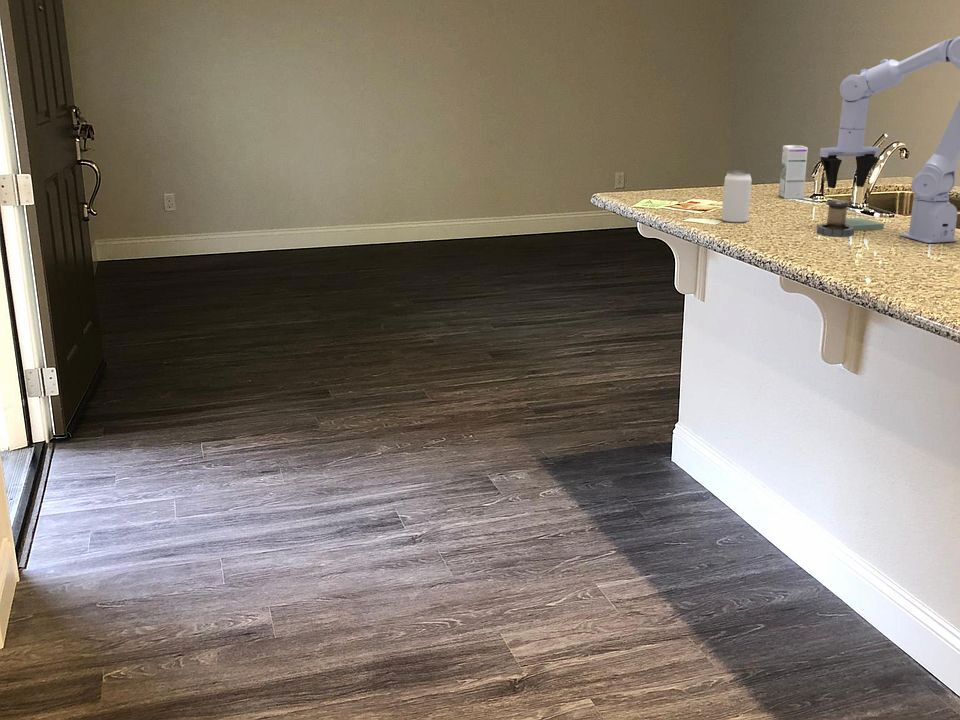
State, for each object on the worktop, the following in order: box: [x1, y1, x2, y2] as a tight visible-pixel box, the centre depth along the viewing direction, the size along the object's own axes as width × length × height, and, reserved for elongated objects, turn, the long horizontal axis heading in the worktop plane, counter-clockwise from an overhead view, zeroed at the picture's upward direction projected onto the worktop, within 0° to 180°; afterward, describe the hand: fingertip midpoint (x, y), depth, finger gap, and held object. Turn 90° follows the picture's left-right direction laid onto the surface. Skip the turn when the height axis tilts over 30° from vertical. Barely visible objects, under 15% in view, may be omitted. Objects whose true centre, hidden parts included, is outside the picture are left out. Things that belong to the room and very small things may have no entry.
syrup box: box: [778, 144, 809, 200], centre depth 276 cm, size 6×6×14 cm
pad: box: [845, 217, 885, 232], centre depth 235 cm, size 9×9×1 cm
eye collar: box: [816, 223, 855, 238], centre depth 227 cm, size 8×8×2 cm
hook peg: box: [826, 199, 850, 229], centre depth 226 cm, size 5×5×8 cm
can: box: [721, 170, 753, 224], centre depth 241 cm, size 6×6×12 cm
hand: (845, 187), depth 232 cm, fingers open, 7 cm apart
